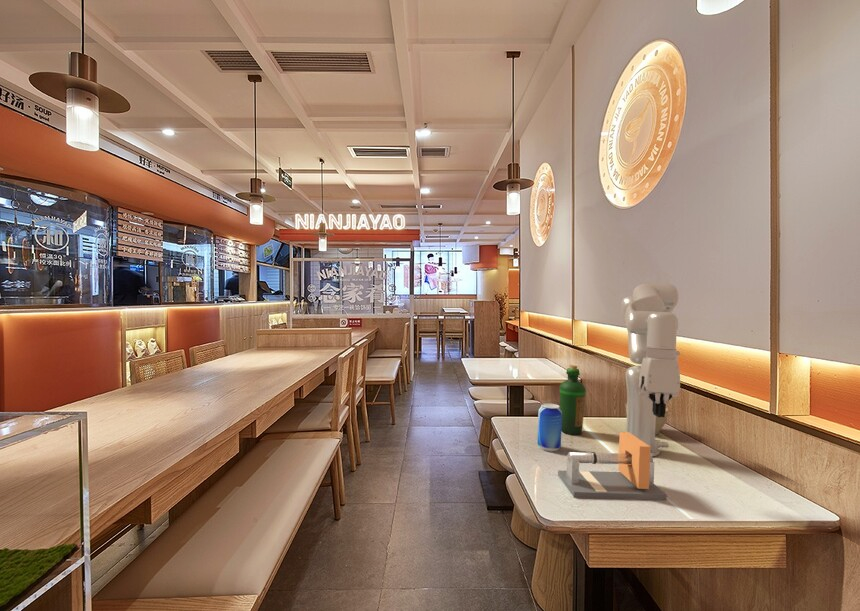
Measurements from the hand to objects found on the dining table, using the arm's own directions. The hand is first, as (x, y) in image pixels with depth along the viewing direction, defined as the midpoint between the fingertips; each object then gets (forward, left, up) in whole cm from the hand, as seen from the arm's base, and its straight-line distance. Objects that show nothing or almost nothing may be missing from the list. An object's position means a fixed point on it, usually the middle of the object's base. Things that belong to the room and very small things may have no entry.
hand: (658, 415), depth 118 cm
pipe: (+14, 0, -20) cm, 25 cm away
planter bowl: (-25, -52, -22) cm, 62 cm away
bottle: (+8, -49, -22) cm, 54 cm away
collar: (+7, 0, -19) cm, 20 cm away
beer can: (+23, -30, -22) cm, 44 cm away
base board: (+14, 0, -22) cm, 26 cm away
